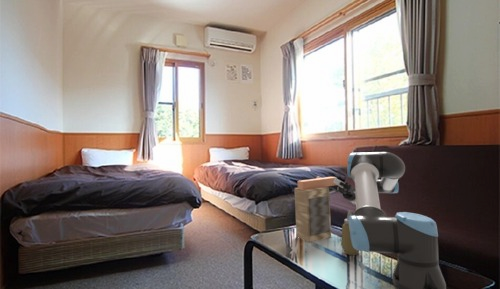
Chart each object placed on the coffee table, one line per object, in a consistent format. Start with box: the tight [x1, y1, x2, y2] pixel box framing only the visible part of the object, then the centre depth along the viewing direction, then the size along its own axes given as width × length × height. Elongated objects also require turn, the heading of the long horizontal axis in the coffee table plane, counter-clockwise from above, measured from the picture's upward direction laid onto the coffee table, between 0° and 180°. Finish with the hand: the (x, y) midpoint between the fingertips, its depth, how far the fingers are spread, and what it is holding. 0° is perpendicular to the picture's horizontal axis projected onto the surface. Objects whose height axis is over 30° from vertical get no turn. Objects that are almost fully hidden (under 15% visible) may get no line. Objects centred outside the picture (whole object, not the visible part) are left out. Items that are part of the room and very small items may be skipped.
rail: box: [297, 176, 338, 190], centre depth 148 cm, size 22×4×4 cm, turn 116°
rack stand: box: [293, 187, 332, 244], centre depth 146 cm, size 14×10×25 cm
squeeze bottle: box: [340, 210, 360, 256], centre depth 125 cm, size 8×8×18 cm
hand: (325, 178), depth 150 cm, fingers open, 13 cm apart
